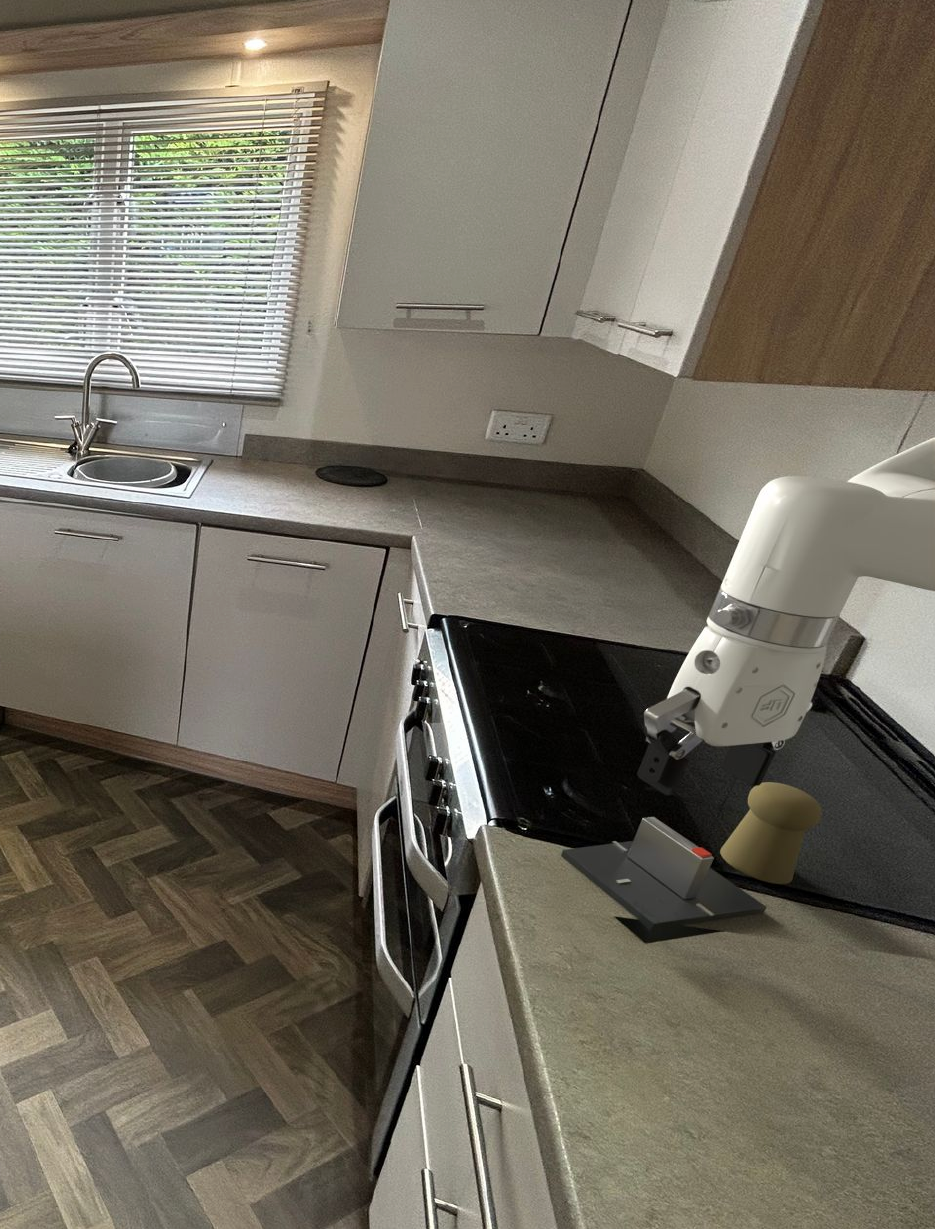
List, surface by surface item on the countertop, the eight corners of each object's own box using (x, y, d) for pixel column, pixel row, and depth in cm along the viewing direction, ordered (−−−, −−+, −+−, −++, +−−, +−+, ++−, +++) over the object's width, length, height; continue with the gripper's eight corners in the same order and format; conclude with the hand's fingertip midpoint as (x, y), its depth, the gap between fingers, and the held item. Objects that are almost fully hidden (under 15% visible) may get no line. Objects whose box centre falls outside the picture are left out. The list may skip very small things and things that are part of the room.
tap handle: (626, 856, 79) (643, 815, 77) (637, 855, 79) (654, 814, 77) (684, 899, 73) (703, 857, 71) (696, 897, 73) (715, 855, 71)
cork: (762, 903, 76) (806, 815, 72) (697, 862, 81) (734, 778, 77) (803, 892, 78) (849, 805, 74) (736, 852, 83) (775, 769, 79)
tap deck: (656, 854, 83) (664, 834, 82) (758, 927, 73) (768, 906, 72) (555, 867, 80) (562, 847, 80) (646, 944, 71) (655, 923, 70)
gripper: (734, 644, 60) (660, 815, 67) (901, 633, 63) (815, 798, 70) (645, 607, 67) (585, 765, 74) (799, 598, 70) (729, 751, 77)
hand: (697, 781), depth 72 cm, fingers open, 9 cm apart
